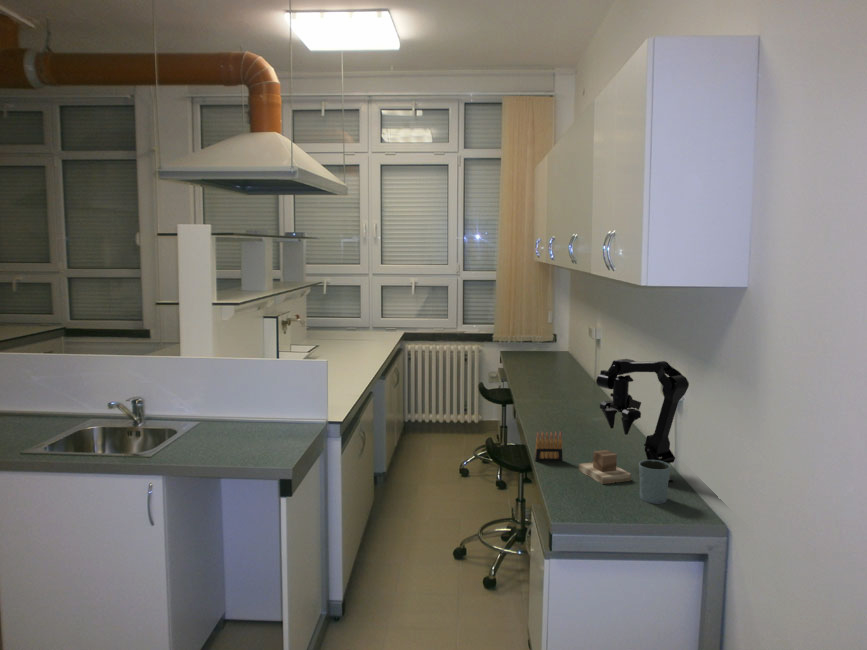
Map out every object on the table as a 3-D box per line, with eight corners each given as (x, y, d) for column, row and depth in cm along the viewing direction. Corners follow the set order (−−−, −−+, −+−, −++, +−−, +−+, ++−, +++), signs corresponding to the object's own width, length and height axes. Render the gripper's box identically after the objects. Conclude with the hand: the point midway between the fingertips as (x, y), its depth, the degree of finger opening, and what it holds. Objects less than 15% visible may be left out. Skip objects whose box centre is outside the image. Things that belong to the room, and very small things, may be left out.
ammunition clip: (535, 461, 266) (536, 431, 264) (534, 460, 267) (535, 430, 266) (562, 461, 266) (563, 431, 265) (561, 460, 268) (562, 430, 266)
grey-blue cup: (662, 493, 231) (664, 459, 230) (674, 504, 221) (675, 469, 220) (633, 493, 231) (634, 459, 229) (643, 504, 221) (644, 469, 219)
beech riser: (631, 480, 244) (631, 473, 244) (602, 484, 240) (602, 477, 240) (605, 467, 259) (606, 460, 259) (578, 470, 255) (578, 463, 255)
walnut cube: (616, 470, 247) (616, 454, 247) (602, 472, 246) (602, 456, 245) (606, 465, 253) (607, 449, 252) (592, 467, 251) (593, 451, 250)
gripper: (653, 395, 254) (651, 435, 256) (623, 385, 271) (621, 423, 273) (628, 397, 250) (627, 438, 252) (599, 387, 267) (598, 426, 269)
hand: (618, 431), depth 261 cm, fingers open, 9 cm apart
